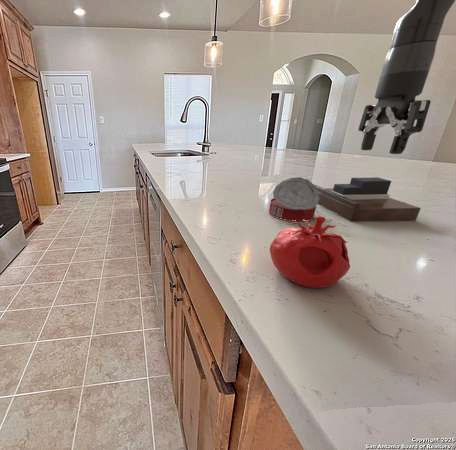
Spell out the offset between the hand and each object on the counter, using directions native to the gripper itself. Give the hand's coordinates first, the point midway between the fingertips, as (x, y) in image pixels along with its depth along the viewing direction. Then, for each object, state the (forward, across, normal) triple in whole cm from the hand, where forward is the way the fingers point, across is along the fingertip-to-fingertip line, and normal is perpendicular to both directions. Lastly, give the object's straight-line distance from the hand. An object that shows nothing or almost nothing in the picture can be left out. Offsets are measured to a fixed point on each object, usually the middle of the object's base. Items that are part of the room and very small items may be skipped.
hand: (379, 151), depth 57 cm
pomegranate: (+14, -30, +30) cm, 45 cm away
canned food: (+14, -4, +20) cm, 25 cm away
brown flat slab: (+14, 0, +2) cm, 14 cm away
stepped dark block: (+11, 0, +2) cm, 11 cm away
